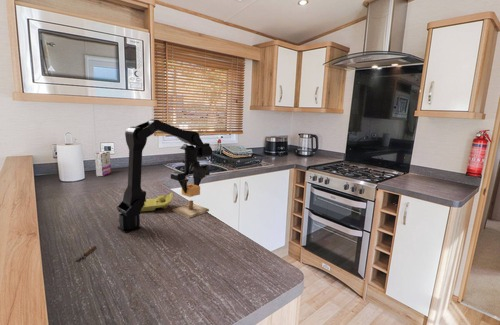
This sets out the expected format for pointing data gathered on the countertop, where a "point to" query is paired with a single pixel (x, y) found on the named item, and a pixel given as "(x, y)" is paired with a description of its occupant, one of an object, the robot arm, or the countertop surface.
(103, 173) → the candy bar box
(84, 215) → the countertop surface
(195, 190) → the orange nut
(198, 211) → the beige peg base
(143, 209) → the plastic component
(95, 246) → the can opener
